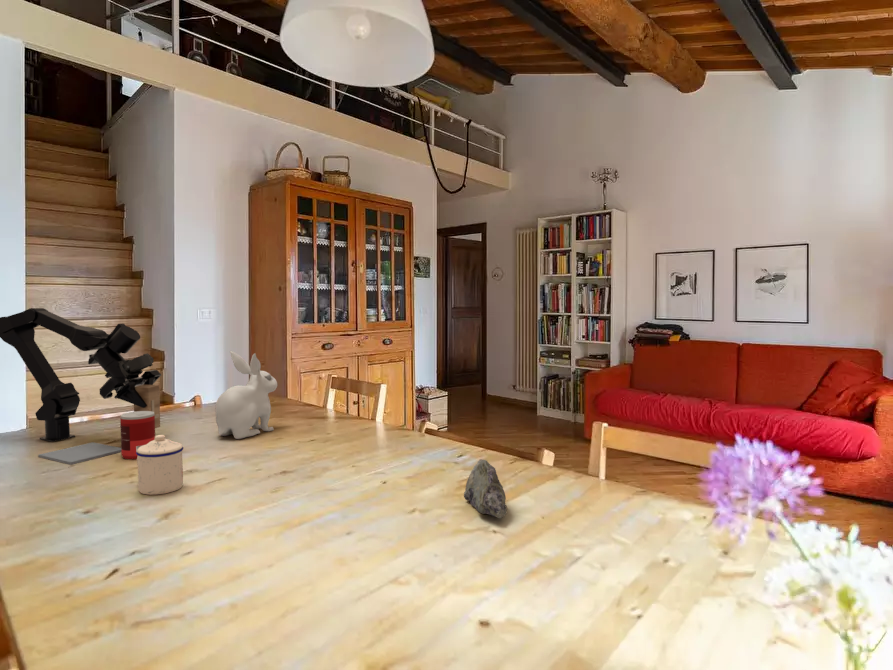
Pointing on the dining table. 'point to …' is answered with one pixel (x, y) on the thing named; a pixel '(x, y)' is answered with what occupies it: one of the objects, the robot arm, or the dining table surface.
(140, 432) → the canned food
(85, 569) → the dining table surface
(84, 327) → the robot arm
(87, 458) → the flat gray square pad
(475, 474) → the mineral rock
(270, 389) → the rabbit
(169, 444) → the lidded ceramic jar
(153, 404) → the wooden block
